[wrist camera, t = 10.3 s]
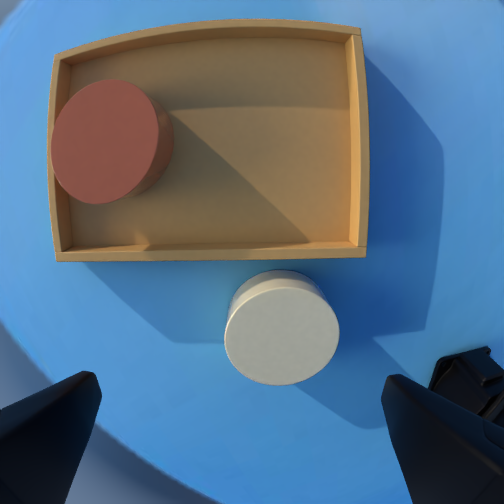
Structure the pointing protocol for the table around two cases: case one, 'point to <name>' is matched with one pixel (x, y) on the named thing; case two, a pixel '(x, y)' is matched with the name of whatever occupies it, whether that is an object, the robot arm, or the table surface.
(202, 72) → the serving tray
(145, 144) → the reddish-brown short cylinder
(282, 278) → the white short cylinder
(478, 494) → the robot arm
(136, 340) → the table surface
